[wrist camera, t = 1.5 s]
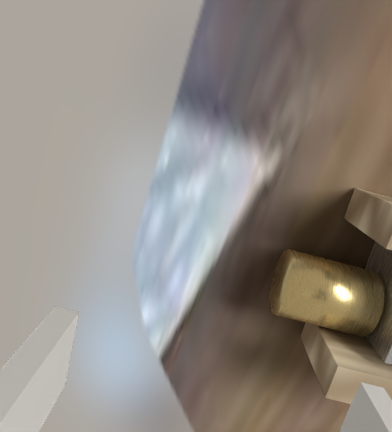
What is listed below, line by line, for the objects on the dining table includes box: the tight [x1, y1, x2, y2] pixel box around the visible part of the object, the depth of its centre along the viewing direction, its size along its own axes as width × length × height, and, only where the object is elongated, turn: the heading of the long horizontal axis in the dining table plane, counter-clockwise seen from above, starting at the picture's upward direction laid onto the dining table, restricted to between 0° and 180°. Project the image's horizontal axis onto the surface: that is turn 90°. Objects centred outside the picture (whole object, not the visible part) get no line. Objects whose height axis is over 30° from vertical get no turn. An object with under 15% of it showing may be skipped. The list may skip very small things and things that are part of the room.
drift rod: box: [269, 249, 384, 337], centre depth 25 cm, size 4×6×4 cm
